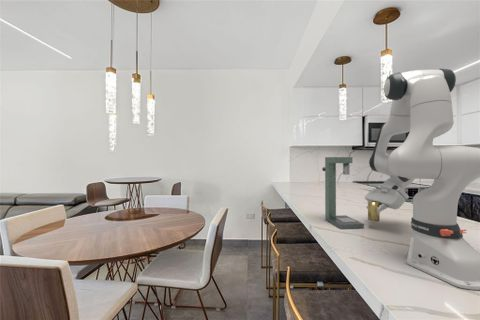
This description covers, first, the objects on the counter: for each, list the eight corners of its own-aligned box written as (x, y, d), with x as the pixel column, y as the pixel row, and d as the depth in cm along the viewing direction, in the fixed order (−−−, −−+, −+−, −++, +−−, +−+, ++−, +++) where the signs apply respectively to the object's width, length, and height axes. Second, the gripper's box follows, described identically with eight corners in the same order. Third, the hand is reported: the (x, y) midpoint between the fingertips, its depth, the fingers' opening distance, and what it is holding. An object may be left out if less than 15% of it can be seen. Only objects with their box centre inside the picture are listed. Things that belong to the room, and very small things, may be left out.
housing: (382, 221, 109) (381, 202, 108) (372, 221, 108) (372, 202, 108) (374, 218, 114) (374, 200, 113) (365, 219, 113) (365, 200, 113)
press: (364, 227, 111) (364, 157, 110) (339, 228, 110) (339, 157, 109) (339, 215, 133) (339, 156, 132) (319, 216, 132) (319, 157, 131)
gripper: (372, 183, 122) (355, 201, 121) (403, 188, 101) (383, 210, 100) (380, 191, 122) (363, 209, 121) (412, 197, 102) (392, 220, 101)
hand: (372, 210), depth 111 cm, fingers closed on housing, 5 cm apart
